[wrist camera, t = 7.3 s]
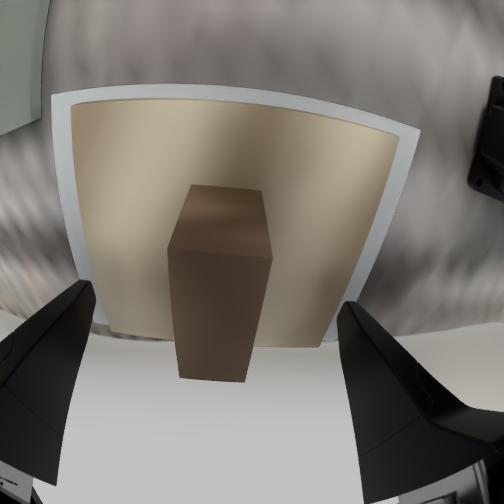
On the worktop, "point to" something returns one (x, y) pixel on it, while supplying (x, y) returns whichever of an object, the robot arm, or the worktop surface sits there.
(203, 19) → the worktop surface
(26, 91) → the dish
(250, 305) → the cover
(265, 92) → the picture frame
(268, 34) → the worktop surface
